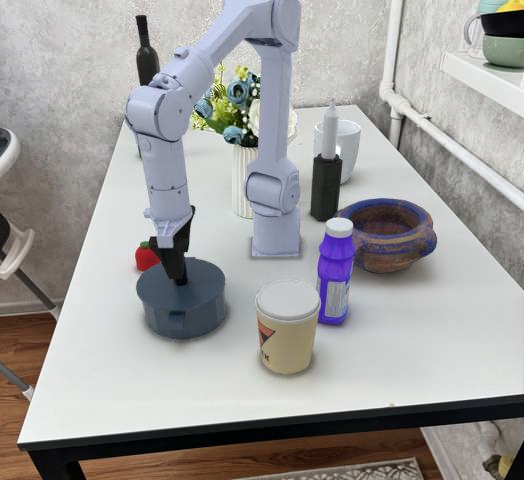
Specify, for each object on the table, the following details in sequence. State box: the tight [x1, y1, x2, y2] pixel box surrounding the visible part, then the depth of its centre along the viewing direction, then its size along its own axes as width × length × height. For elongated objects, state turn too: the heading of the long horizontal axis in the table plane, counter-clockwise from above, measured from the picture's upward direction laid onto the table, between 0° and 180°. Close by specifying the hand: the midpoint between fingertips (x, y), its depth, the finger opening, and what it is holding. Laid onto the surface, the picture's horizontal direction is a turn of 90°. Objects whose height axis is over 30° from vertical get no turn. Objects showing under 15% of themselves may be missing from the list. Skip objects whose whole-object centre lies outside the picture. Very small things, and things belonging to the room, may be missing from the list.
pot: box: [141, 256, 227, 340], centre depth 83 cm, size 14×19×6 cm
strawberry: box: [134, 240, 161, 273], centre depth 94 cm, size 5×5×5 cm
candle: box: [309, 95, 343, 223], centre depth 103 cm, size 5×5×25 cm
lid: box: [135, 256, 226, 312], centre depth 79 cm, size 15×15×6 cm
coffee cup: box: [254, 278, 321, 375], centre depth 73 cm, size 9×9×12 cm
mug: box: [313, 118, 362, 185], centre depth 119 cm, size 15×11×13 cm
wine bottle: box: [135, 14, 161, 86], centre depth 143 cm, size 6×6×30 cm
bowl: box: [332, 197, 438, 274], centre depth 94 cm, size 18×18×10 cm
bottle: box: [315, 217, 355, 325], centre depth 79 cm, size 7×6×17 cm
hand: (179, 264), depth 78 cm, fingers open, 7 cm apart
